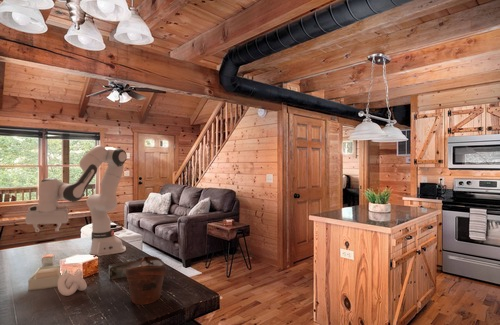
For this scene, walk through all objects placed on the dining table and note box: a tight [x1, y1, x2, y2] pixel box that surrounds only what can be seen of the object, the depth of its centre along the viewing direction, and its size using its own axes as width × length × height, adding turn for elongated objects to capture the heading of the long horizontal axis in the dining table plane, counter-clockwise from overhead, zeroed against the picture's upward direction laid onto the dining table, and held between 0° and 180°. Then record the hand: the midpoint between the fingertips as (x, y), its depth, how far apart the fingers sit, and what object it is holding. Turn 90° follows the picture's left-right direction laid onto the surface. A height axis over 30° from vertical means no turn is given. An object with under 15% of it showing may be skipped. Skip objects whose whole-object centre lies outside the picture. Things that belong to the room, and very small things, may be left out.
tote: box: [27, 264, 67, 291], centre depth 152 cm, size 14×18×5 cm
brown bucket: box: [124, 255, 168, 306], centre depth 136 cm, size 18×20×18 cm
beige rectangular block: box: [36, 268, 60, 279], centre depth 148 cm, size 9×6×7 cm, turn 112°
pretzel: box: [57, 269, 88, 297], centre depth 141 cm, size 11×12×9 cm
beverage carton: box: [108, 260, 135, 280], centre depth 163 cm, size 8×19×7 cm, turn 119°
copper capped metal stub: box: [41, 253, 56, 267], centre depth 164 cm, size 5×5×9 cm
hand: (47, 231), depth 165 cm, fingers open, 8 cm apart
